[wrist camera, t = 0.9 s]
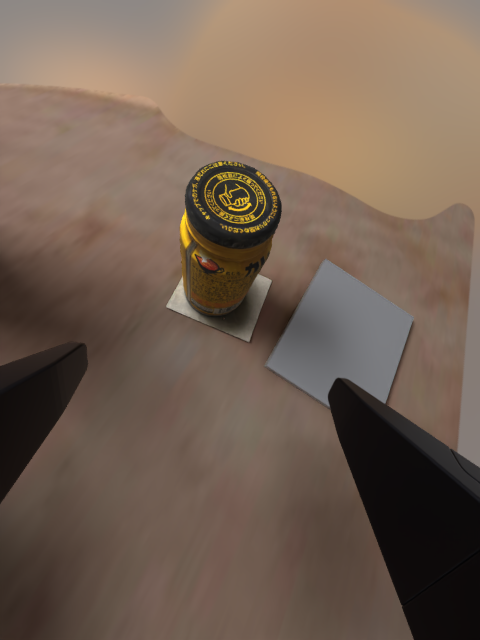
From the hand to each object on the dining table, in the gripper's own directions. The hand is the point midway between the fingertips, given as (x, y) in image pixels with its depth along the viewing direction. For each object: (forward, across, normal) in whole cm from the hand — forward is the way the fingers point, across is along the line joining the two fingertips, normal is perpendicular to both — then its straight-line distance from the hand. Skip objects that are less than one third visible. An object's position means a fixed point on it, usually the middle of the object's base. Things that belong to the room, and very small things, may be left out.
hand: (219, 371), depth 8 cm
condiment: (+16, -1, +3) cm, 16 cm away
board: (+13, -14, +4) cm, 20 cm away
